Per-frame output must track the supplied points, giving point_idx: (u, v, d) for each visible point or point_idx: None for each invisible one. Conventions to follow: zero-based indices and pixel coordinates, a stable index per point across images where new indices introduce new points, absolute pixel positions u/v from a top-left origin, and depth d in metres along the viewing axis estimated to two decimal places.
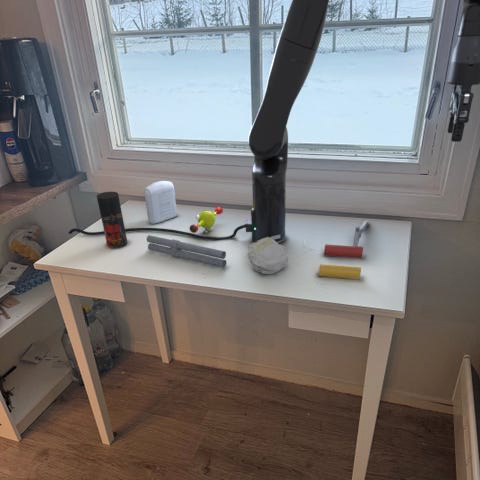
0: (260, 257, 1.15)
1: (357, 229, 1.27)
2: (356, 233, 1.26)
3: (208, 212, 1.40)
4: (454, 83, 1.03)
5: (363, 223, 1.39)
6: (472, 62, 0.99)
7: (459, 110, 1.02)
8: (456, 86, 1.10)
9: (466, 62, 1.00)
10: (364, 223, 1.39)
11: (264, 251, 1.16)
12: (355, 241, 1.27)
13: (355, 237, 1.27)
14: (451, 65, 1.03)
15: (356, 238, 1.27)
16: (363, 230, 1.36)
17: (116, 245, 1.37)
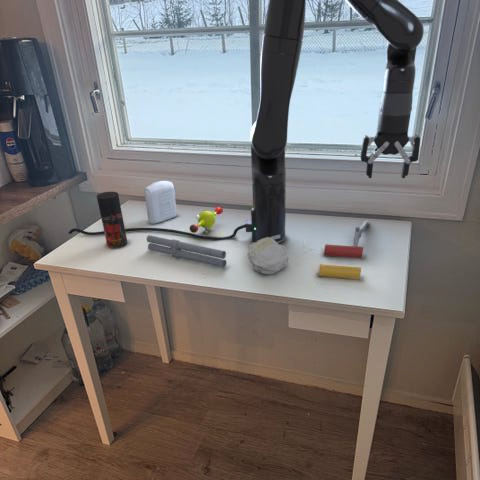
0: (260, 257, 1.15)
1: (357, 229, 1.27)
2: (356, 233, 1.27)
3: (208, 212, 1.40)
4: None
5: (363, 223, 1.39)
6: (379, 113, 1.16)
7: None
8: (414, 136, 1.18)
9: None
10: (364, 223, 1.39)
11: (264, 251, 1.16)
12: (355, 241, 1.27)
13: (355, 237, 1.27)
14: None
15: (356, 238, 1.27)
16: (363, 230, 1.36)
17: (116, 245, 1.37)
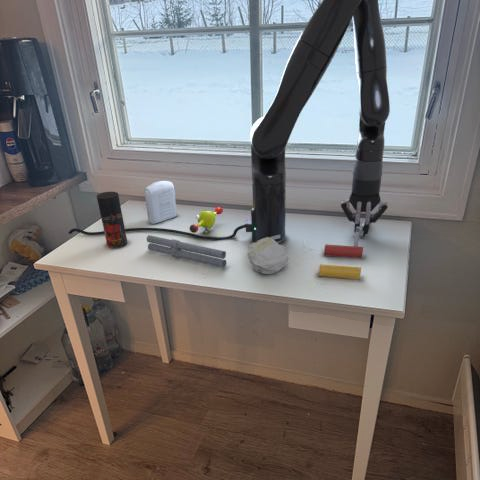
0: (260, 257, 1.15)
1: (357, 229, 1.27)
2: (356, 233, 1.26)
3: (208, 212, 1.40)
4: None
5: (363, 223, 1.39)
6: (353, 176, 1.28)
7: None
8: None
9: None
10: None
11: (264, 251, 1.16)
12: (355, 241, 1.27)
13: (355, 237, 1.27)
14: None
15: (356, 238, 1.27)
16: None
17: (116, 245, 1.37)
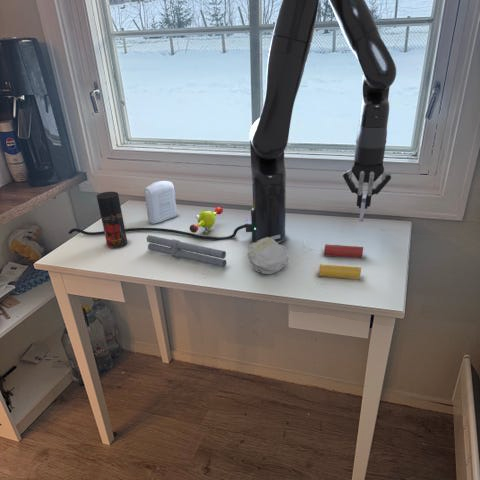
0: (260, 257, 1.15)
1: (363, 200, 1.22)
2: (363, 204, 1.22)
3: (208, 212, 1.40)
4: None
5: (363, 196, 1.34)
6: (356, 144, 1.23)
7: None
8: (388, 173, 1.26)
9: None
10: (364, 196, 1.35)
11: (264, 251, 1.16)
12: (362, 212, 1.22)
13: (362, 208, 1.22)
14: None
15: (363, 209, 1.22)
16: None
17: (116, 245, 1.37)
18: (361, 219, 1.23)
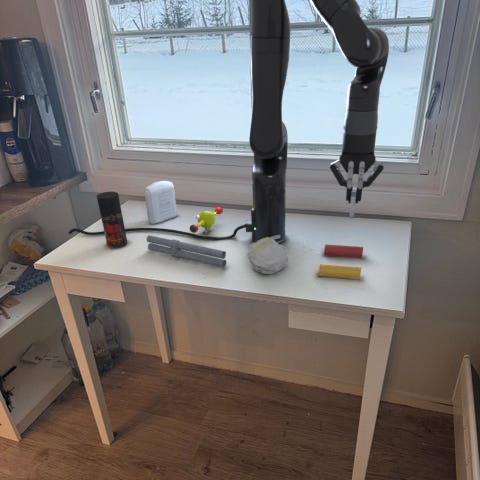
0: (260, 257, 1.15)
1: (353, 193, 1.08)
2: (353, 198, 1.08)
3: (208, 212, 1.40)
4: None
5: (353, 189, 1.21)
6: (343, 131, 1.09)
7: None
8: (380, 163, 1.12)
9: None
10: (354, 189, 1.21)
11: (264, 251, 1.16)
12: (352, 208, 1.09)
13: (352, 203, 1.08)
14: None
15: (353, 204, 1.08)
16: None
17: (116, 245, 1.37)
18: (351, 215, 1.10)
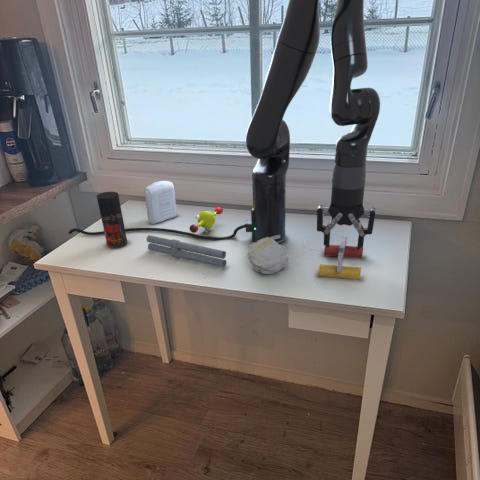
0: (260, 257, 1.15)
1: (341, 249, 1.10)
2: (340, 254, 1.10)
3: (208, 212, 1.40)
4: None
5: (343, 240, 1.22)
6: (332, 183, 1.10)
7: None
8: None
9: None
10: (344, 240, 1.23)
11: (264, 251, 1.16)
12: (339, 263, 1.10)
13: (339, 259, 1.10)
14: None
15: (340, 260, 1.10)
16: None
17: (116, 245, 1.37)
18: (339, 270, 1.11)
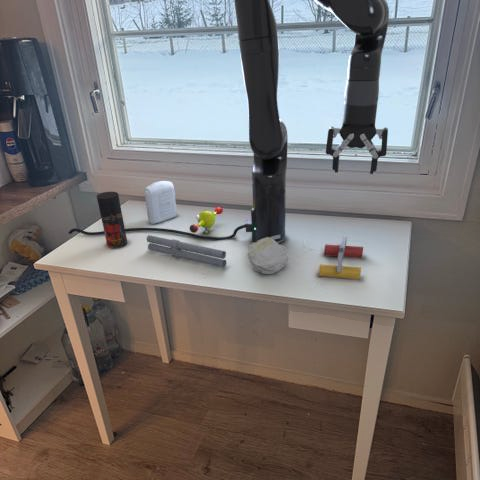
0: (260, 257, 1.15)
1: (341, 249, 1.10)
2: (340, 254, 1.10)
3: (208, 212, 1.40)
4: None
5: (343, 240, 1.22)
6: (344, 102, 1.08)
7: None
8: (383, 129, 1.10)
9: None
10: (344, 240, 1.23)
11: (264, 251, 1.16)
12: (339, 263, 1.10)
13: (339, 259, 1.10)
14: None
15: (340, 260, 1.10)
16: None
17: (116, 245, 1.37)
18: (339, 270, 1.11)
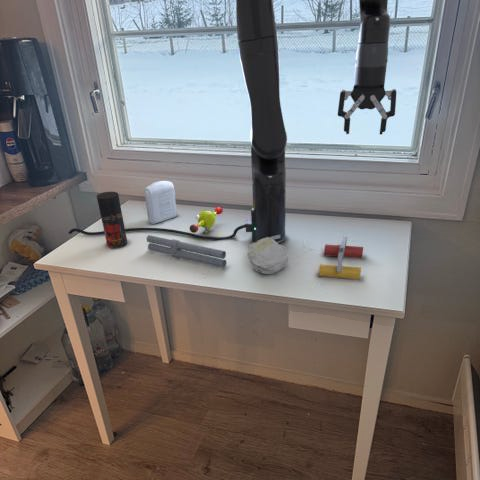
0: (260, 257, 1.15)
1: (341, 249, 1.10)
2: (340, 254, 1.10)
3: (208, 212, 1.40)
4: None
5: (343, 240, 1.22)
6: (355, 65, 1.15)
7: None
8: (391, 90, 1.17)
9: None
10: (344, 240, 1.23)
11: (264, 251, 1.16)
12: (339, 263, 1.10)
13: (339, 259, 1.10)
14: None
15: (340, 260, 1.10)
16: None
17: (116, 245, 1.37)
18: (339, 270, 1.11)
